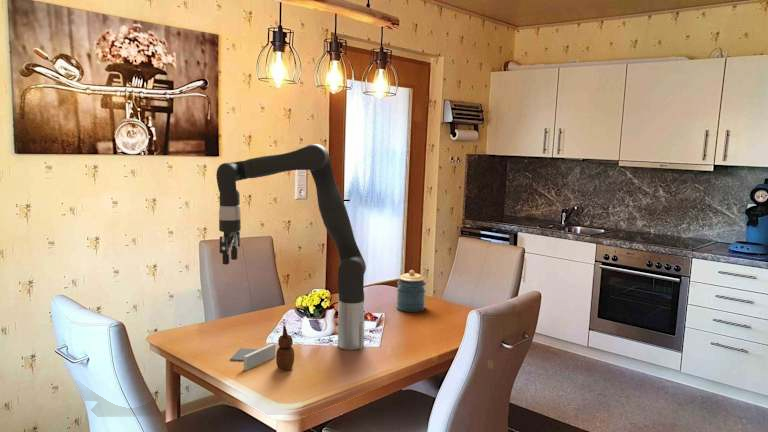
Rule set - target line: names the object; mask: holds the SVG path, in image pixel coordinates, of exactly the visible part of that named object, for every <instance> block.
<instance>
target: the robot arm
mask: <svg viewBox="0 0 768 432" xmlns="http://www.w3.org/2000/svg"><path fill="white" fill-rule="evenodd" d="M291 171H309V172H310V174H311V177H312V179H313V181H314V184H315V189H316V196H317V205H318V209H319V214H320V216H321V220H322V222H323V225H324V227H325V229H326V231H327V232H328V235H330V238H331V239H332V241H333V242H334V244H335V247H336V249H337V252H338V253H337V254H338V256H339V261H340V264H339V265H338V269H337V294H338V313H337V315H338V322H337V324H338V325H337V346H338V348H340V349H341V350H346V351H355V350H362V349H363V347H364V344H365V291H364V284H365V283H364V282H365V281H364V280H365V278H364V277H365V272H366V269H367V267H366V266H367V265H366V262H365V259H364V258H363V256H362V253H361V250H360V249H359V247H358V244H357V242H356V239H355V236H354V230H353V227H352V223H351V220H350V217H349V213H348V211H347V208H346V207H347V206H346V205H345V202H344V199H343V196H342V194H341V192H340V189H339V186H338V184H337V182H336V179H335V175H334V172H333V167H332V164H331V158H330V154H329V151H328V150H327V148H325V146H323V145H322V144H318V143H315V144H314V143H313V144H308V145H307V146H305V147H302V148H298V149H295V150H293V151H290V152H287V153H279V154H273V155H264V156H258V157H252V158H249V159H246V160H239V161H231V162H224V163H221V164H220V165H219V166H218V167H217V169H216V175H215V176H216V183H217V184H216V185H217V188H218V192H219V208H218V209H219V210H218V231H220V232H222V233H223V236H219V254H222V265H230V260H231V261H232V260H233V261H235V260H236V261H237V260H238V249H239V248H240V247H241V235H240V234H241V233H240V231H241V229H242V228H241V220H242V219H241V213H242V212H241V207H240V206H241V205H240V204H241V203H240V200H241V199H240V197H241V196H240V192H239V190H238V189H237V182H239V181H242V180H248V179H257V178H262V177H263V178H264V177H268V176H272V175H276V174H277V175H278V174H280V173H284V172H291Z"/></svg>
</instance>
